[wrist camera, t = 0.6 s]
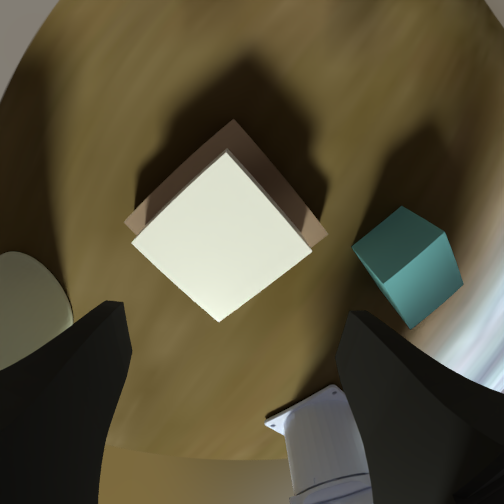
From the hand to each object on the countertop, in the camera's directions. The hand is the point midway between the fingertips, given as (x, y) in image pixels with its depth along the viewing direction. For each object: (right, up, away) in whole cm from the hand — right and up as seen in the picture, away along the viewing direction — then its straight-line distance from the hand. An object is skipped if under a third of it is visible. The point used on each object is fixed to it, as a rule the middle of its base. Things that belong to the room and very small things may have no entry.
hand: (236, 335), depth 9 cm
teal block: (+10, +3, +10) cm, 15 cm away
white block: (-1, +4, +7) cm, 8 cm away
